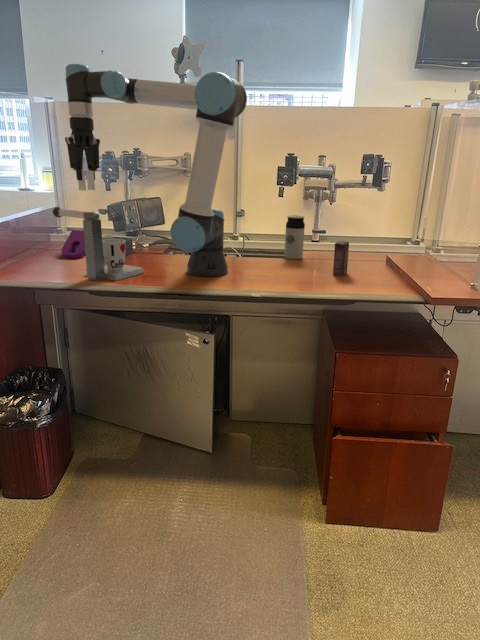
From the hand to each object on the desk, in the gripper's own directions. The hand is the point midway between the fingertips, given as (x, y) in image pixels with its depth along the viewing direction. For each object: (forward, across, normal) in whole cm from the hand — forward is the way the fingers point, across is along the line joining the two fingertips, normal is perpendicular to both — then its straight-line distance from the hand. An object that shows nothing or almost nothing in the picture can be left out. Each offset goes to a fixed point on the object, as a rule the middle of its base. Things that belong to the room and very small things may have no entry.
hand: (87, 190), depth 161 cm
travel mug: (+29, -67, +51) cm, 89 cm away
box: (+29, -49, +78) cm, 97 cm away
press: (+29, +2, +11) cm, 31 cm away
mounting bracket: (+29, -16, -26) cm, 42 cm away
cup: (+27, 0, +11) cm, 29 cm away
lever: (+9, +9, +3) cm, 13 cm away
